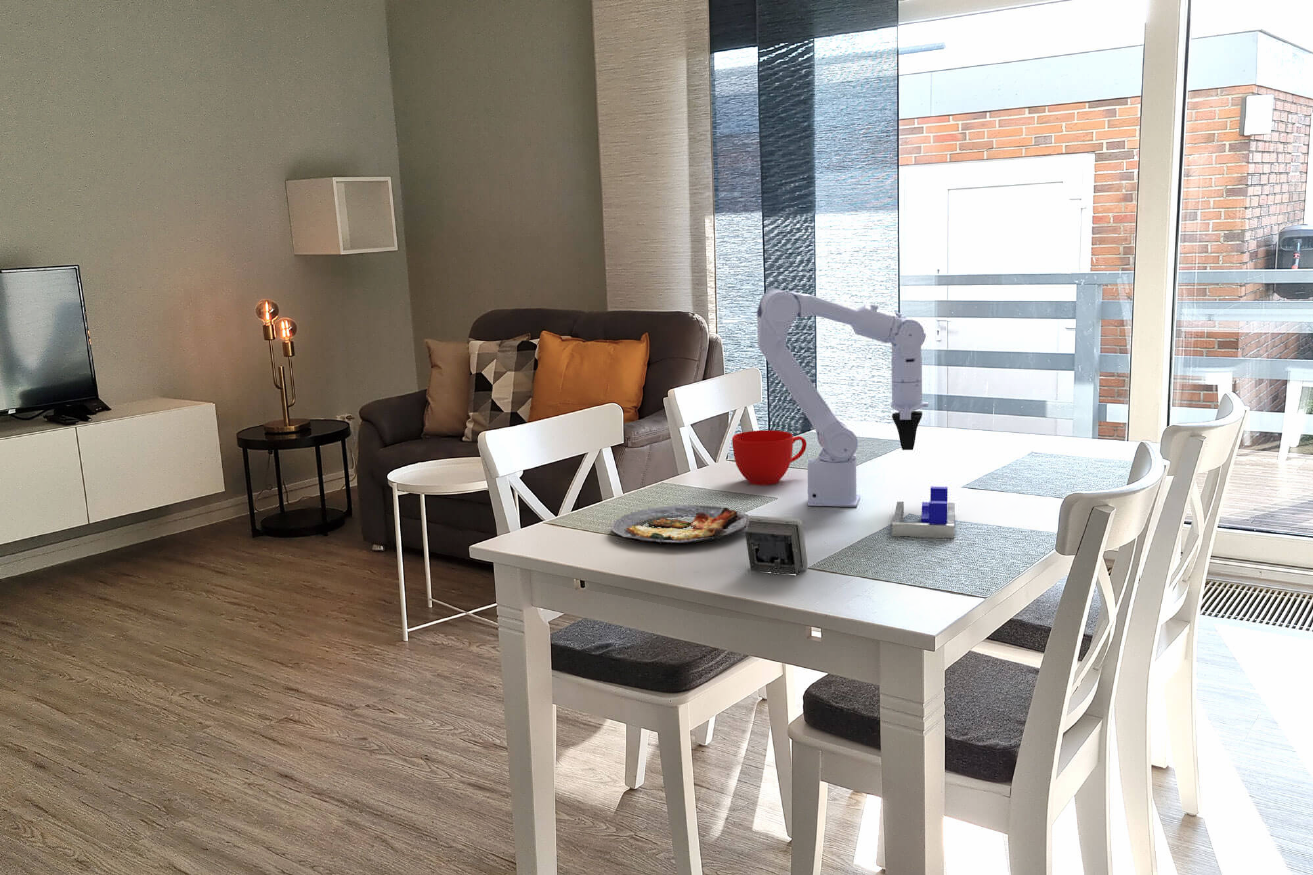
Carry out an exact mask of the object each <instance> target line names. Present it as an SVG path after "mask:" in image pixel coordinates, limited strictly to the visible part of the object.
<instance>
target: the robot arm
mask: <svg viewBox="0 0 1313 875" xmlns="http://www.w3.org/2000/svg"><path fill="white" fill-rule="evenodd" d="M811 316H816V317H820V318H824V319H828V320H831V321H834V322H838V323H842V324H845V325H848V326H851V328H852V330H853V332H854V334H855V335H858V336H861V337H864V338H868V339H870V340H871V339H872V340H875V341H878V342H881V343H884V344H888V343H889V344H891V363H890V364H891V403H890V408H891V409H893V410H895V411H896V412H893V413H892V415H891V418H892V421H893V422H894V424H895V427H896V429H897V433H898V437H899V442H900V447H901V450H902V451H913V450H914V447H915V443H916V436H917V430H918V427H919V423H920V421H921V420H922V418H923V417H922V416H923V411H920V409H923V408H928V407H929V402H928V401H923V362H922V361H923V358H922V346H923V344H924V343H925V340H926V336H927V335H926V333H925V329H924V327H923V325H921V323H920V322H918V321H916V320H914V319H912V318H911V319H910V318H908V317H907V316H903V314H902V313H900V312H898V311H897V312H895V313H892V312H888V311H886V310H881V309H879V306H878V305H876V304H873V303H871V304H870V306H868V305H863V306H861V307H859V308H856V309H854V308H851V307H848V306H846V305H842V304H839V303H836V302H833V301H830V300H827V299H823V298H821V297H818V296H816V295H815V296H814V295H812V294H810V293H803V292H797V291H788V292H787V291H785V290H782V289H779V288H773V289H770V290H768V291H766V292H765V293H764V294H763V295H762V296H761V298H760V300H759V304H758V307H757V310H756V319H757V320H756V321H757V347H758V349H759V351H760V352H761V354H762V355H763V357H764V358H765V359H766V361H767V363H768V364H769V365H770V366H771V368H772V369H773V371H774V372H775V374H776V375H777V376H778V378H779V379H780V381H781V382H782V383H783V385H784V386H785V388H786V390H787V391H788V392H789V393H790V395H791V396H792V398H793V399H794V401H795V402H796V404H797V405H798V406H799V408H800V409H801V410H802V412H803V414H805V416H806V417H807V419H808V421H809V422H810V424H811V425H812V428H813V429H814V430H815V433H816V437H817V441H818V442H817V443H818V444H819V446H820V448H822V449H821V451H820V452H819V453H818V457H810V458H808V462H807V463H808V464H807V499H808V500H807V506H809V507H811V506H812V507H813V506H814V507H846V508H847V507H851V508H854V507H855V508H856V507H857V506H858V505H859V504H858V503H859V501H860V499H861V495H860V494H857V454H856V452H857V450H858V446H859V444H858V442H859V441H858V438H857V435H856V434H855V433H854V432H853V431H852V430H850V429H849V428H848V427H847V426H846V425H845V424H844V423H843V422H842V421H840V420H839V419H838V418H837V416H836V415H835V414H834V412H833V411H832V410H831V408H830V406H828V403H827V402H826V401H825V399H824V398H823V397H822V395H821V394H820V392H819V391H818V389H817V388H816V387H815V386H814V384H813V383H812V380H810V378H809V376H808V375H807V374H806V372H805V370H804V369H803V368H802V366H801V365H800V364H799V363H798V361H797V360H796V358H795V356H794V354H792V352H791V351H790V350H789V348H788V347H787V345H786V342H787V338H788V334H789V329H790V328H791V326H792V325H793V323H794V322H795V321H796V319H797V318H799V319H800V320H801V319H805V318H808V317H811Z"/></svg>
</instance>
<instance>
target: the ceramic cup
mask: <svg viewBox="0 0 1313 875" xmlns="http://www.w3.org/2000/svg"><path fill="white" fill-rule="evenodd" d="M797 441H801V443H802V444H801V447H800V449H799V451H798V453H796V454H795V455H794V456H793V448H794V443H795V442H797ZM731 442H732V444H731V445H732V451H733V458H734V462H735V464H736V467H737V469H738V471H739V472H740V474H741V475H742V476H743V477H744V480H747V482H748V484H751V485H755V486H769V485H775V484H778V483H780V480H781V479H782V478H783V477H784V476H785V474H786V473H787V472H788V469H789V467H790V465H791V463H793V462H795V461H797V460H798V459H799V458H801V457H802V456H803V454H804V453H805V452H806V450H807V440H806V439H805V438H804V437H802V436H794V435H793V434H792V433H791V432H788V431H781V430H750V431H745V432H739V433H736V434H734V435H733V436H732V441H731Z"/></svg>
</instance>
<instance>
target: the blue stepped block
mask: <svg viewBox="0 0 1313 875" xmlns="http://www.w3.org/2000/svg"><path fill="white" fill-rule="evenodd" d="M948 489H949V488H948V486H934V485H933V486H930V490H929V491H930V500H929V501H922V502H921V517H920V518H921V519H920V523H939V524H947V512H948Z"/></svg>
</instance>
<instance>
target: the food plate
mask: <svg viewBox="0 0 1313 875" xmlns="http://www.w3.org/2000/svg"><path fill="white" fill-rule="evenodd" d="M748 516H749V514H747V513H742V511H741V510H737V509H736V510H734V509H732V508H730V507H725V506H724V507H722V506H713V505H712V506H711V505H696V504H681V505H680V504H678V505H667V506H662V507H653V508H652V507H651V508H644V509H642V510H638V511H634V512H630V513H626V514H625V515H623V516H621V517H620V518H617V519H615V520H614V521H613V522H612V526H611V530H612V531H613V532H614V533H616V534H617V535H619V536H621V537H623V538H631V539H636V540H640V541H642V542H658V543H659V544H661V545H662V542H663V543H665V542H666V543H677V544H688V543H693V544H694V543H695V542H704V541H712V540H716V539H720V538H725V537H726V538H727V537H728V536H731V535H732V534H735V533H737V532H739V531H741V530H743V529H747V527H746V519H747V517H748ZM678 517H681V518H683V517H695V519H693V520H691V522H690V521H689V522H688V521H686V520H682V519H681V520H680V519H671V520H670V519H667V518H678ZM657 520H658V521H657ZM646 523H647V525H648V527H647V526H643V525H644V524H646ZM649 526H654V527H661V528H654V527H649ZM689 526H691V527H693V528H692V529H691V528H690V529H686V530H684V529H683V528H687V527H689ZM663 528H664V529H663ZM666 528H668V529H666ZM674 528H676V529H674Z"/></svg>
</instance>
